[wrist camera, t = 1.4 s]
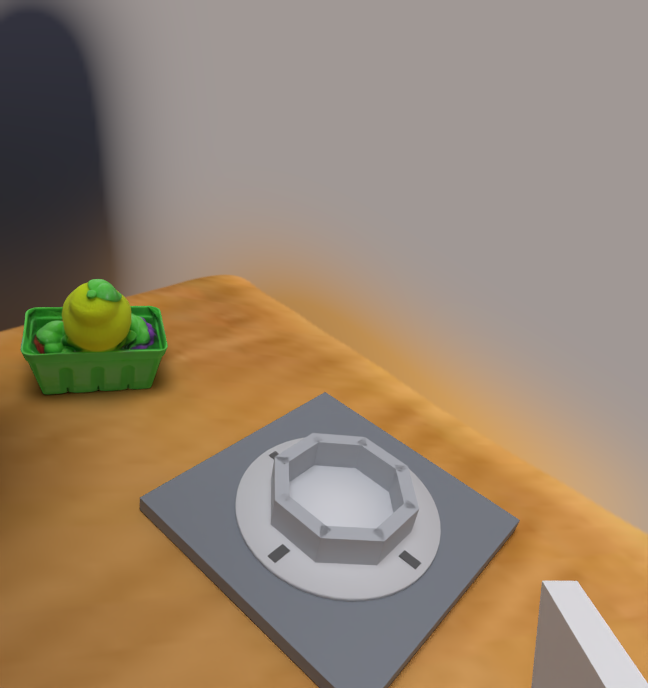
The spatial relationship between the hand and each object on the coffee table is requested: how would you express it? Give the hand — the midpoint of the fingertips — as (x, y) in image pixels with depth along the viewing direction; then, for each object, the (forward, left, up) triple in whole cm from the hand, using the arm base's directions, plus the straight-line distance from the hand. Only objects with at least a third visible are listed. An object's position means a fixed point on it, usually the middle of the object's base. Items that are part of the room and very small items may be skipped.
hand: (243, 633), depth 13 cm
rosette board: (-10, +21, -22) cm, 32 cm away
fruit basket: (-35, +17, -22) cm, 45 cm away
